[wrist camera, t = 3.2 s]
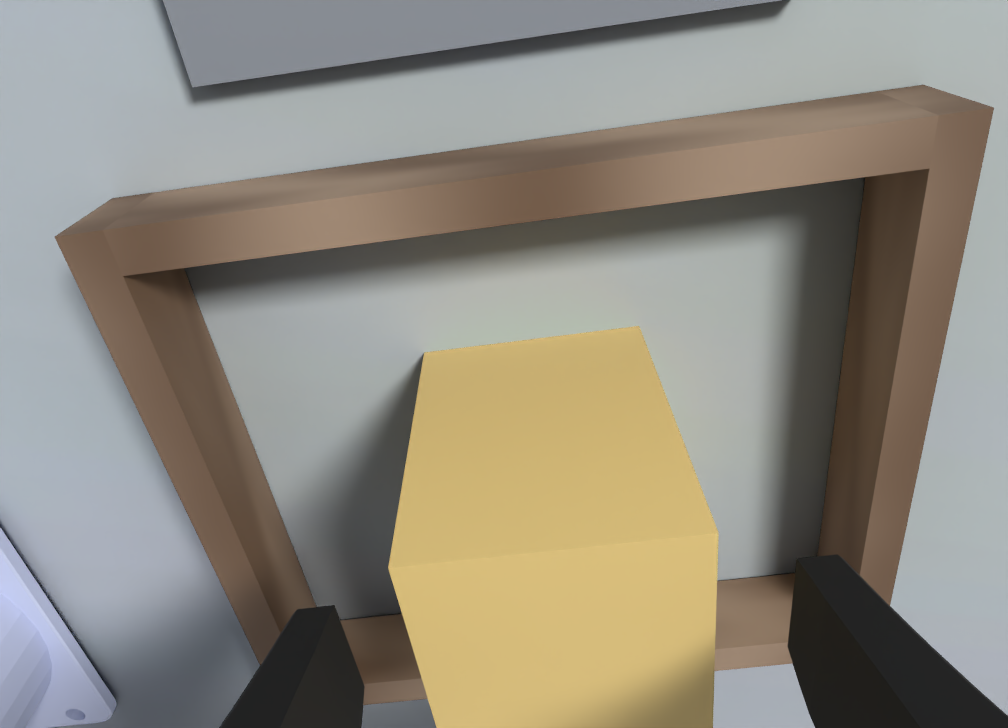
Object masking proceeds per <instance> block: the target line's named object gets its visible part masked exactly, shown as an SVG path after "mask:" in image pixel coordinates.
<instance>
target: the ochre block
mask: <svg viewBox="0 0 1008 728" xmlns="http://www.w3.org/2000/svg"><path fill="white" fill-rule="evenodd" d="M717 565H718V530H717V528H716V525H715V523H714V520H713V517H712V515H711V512H710V510H709V507H708V504H707V502H706V499H705V497H704V494H703V491H702V489H701V486H700V484H699V481H698V478H697V476H696V473H695V470H694V468H693V465H692V463H691V460H690V457H689V455H688V452H687V450H686V447H685V444H684V442H683V439H682V437H681V434H680V431H679V429H678V426H677V424H676V421H675V418H674V416H673V413H672V411H671V408H670V405H669V403H668V400H667V398H666V395H665V392H664V390H663V387H662V385H661V382H660V379H659V377H658V374H657V372H656V369H655V366H654V364H653V361H652V358H651V356H650V353H649V351H648V348H647V345H646V343H645V340H644V338H643V335H642V332H641V330H640V327H639V326H636V327H628V328H619V329H611V330H603V331H595V332H587V333H579V334H571V335H563V336H555V337H547V338H538V339H530V340H522V341H514V342H506V343H498V344H490V345H482V346H474V347H466V348H457V349H449V350H441V351H433V352H425V353H424V357H423V363H422V369H421V375H420V381H419V387H418V393H417V399H416V404H415V410H414V416H413V422H412V428H411V434H410V440H409V446H408V452H407V458H406V464H405V470H404V476H403V482H402V488H401V494H400V500H399V506H398V512H397V518H396V524H395V530H394V536H393V542H392V548H391V554H390V560H389V566H388V569H389V572H390V576H391V579H392V582H393V586H394V589H395V592H396V595H397V599H398V602H399V605H400V609H401V612H402V615H403V618H404V622H405V625H406V628H407V632H408V635H409V638H410V642H411V645H412V648H413V651H414V655H415V658H416V661H417V665H418V668H419V671H420V675H421V678H422V681H423V684H424V688H425V691H426V694H427V698H428V701H429V704H430V707H431V711H432V714H433V717H434V721H435V724H436V727H437V728H713V703H714V668H715V634H716V600H717Z"/></svg>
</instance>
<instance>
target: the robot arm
mask: <svg viewBox="0 0 1008 728" xmlns="http://www.w3.org/2000/svg"><path fill="white" fill-rule="evenodd" d="M787 647H788V650H789V653H790V656H791V659H792V662H793V666H794V669H795V672H796V675H797V678H798V681H799V685H800V687H801V690H802V693H803V696H804V699H805V702H806V705H807V708H808V711H809V714H810V717H811V719H812V721H813V723H814V726H815V728H1008V715H1006V714H1005V713H1004V712H1003V711H1002V710H1000V709H999V708H998V707H997V706H996V705H995V704H994V703H993V702H991V701H990V700H989V699H988V698H987V697H986V696H985V695H984V694H982V693H981V692H980V691H979V690H978V689H977V688H976V687H975V686H974V685H972V684H971V683H970V682H969V681H968V680H967V679H966V678H965V677H964V676H963V675H962V674H961V673H959V672H958V671H957V670H956V669H955V668H954V667H953V666H952V665H951V664H950V663H949V662H948V661H946V660H945V659H944V658H943V657H942V656H941V655H940V654H939V653H938V652H937V651H936V650H935V649H934V648H932V647H931V646H930V645H929V644H928V643H927V642H926V641H925V640H924V639H923V638H922V637H921V636H920V635H919V634H918V633H917V632H916V631H915V630H914V629H913V628H912V627H911V626H910V625H909V624H908V623H907V622H906V621H905V620H904V619H903V618H902V617H901V616H900V615H899V614H898V613H897V612H895V611H894V610H893V609H892V608H891V607H890V606H889V605H888V604H887V603H886V602H885V601H884V600H883V599H882V598H881V596H880V595H879V594H878V593H877V592H876V591H875V590H874V589H873V588H872V587H871V586H870V585H869V584H868V583H867V582H866V581H865V580H864V579H863V578H862V577H861V576H860V575H859V574H858V573H857V572H856V571H855V570H854V569H853V568H852V567H851V566H850V565H849V564H848V563H847V562H846V561H845V560H844V559H843V558H842V557H841V556H839V555H838V554H836V555H826V556H816V557H807V558H797V562H796V571H795V580H794V590H793V599H792V609H791V618H790V627H789V637H788V646H787ZM364 689H365V686H364V683H363V680H362V678H361V675H360V672H359V670H358V667H357V664H356V662H355V659H354V656H353V654H352V651H351V648H350V646H349V643H348V640H347V638H346V635H345V632H344V630H343V627H342V624H341V621H340V619H339V616H338V613H337V611H336V608H335V605H333V606H324V607H314V608H304V609H297V610H296V611H295V612H294V613H293V615H292V616H291V618H290V619H289V621H288V622H287V624H286V626H285V627H284V629H283V630H282V632H281V634H280V635H279V637H278V638H277V640H276V642H275V643H274V645H273V646H272V648H271V650H270V651H269V653H268V654H267V656H266V657H265V659H264V661H263V662H262V664H261V665H260V667H259V668H258V670H257V672H256V673H255V675H254V676H253V678H252V679H251V681H250V682H249V684H248V686H247V687H246V689H245V690H244V692H243V693H242V695H241V696H240V698H239V699H238V701H237V702H236V704H235V705H234V707H233V708H232V710H231V711H230V713H229V714H228V716H227V717H226V718H225V720H224V721H223V723H222V724H221V726H220V727H219V728H361V725H362V714H363V701H364ZM116 705H117V703H116V700H115V698H114V697H113V695H112V694H111V692H110V691H109V689H108V688H107V686H106V685H105V683H104V682H103V680H102V679H101V677H100V676H99V674H98V673H97V671H96V670H95V668H94V667H93V665H92V664H91V662H90V661H89V659H88V658H87V656H86V655H85V653H84V652H83V650H82V649H81V647H80V646H79V644H78V643H77V641H76V640H75V638H74V637H73V635H72V634H71V632H70V631H69V629H68V628H67V626H66V625H65V623H64V622H63V620H62V619H61V617H60V616H59V614H58V613H57V611H56V610H55V608H54V607H53V605H52V604H51V602H50V601H49V600H48V598H47V597H46V595H45V594H44V592H43V591H42V589H41V588H40V586H39V585H38V583H37V582H36V580H35V579H34V577H33V576H32V574H31V573H30V571H29V570H28V568H27V567H26V565H25V564H24V562H23V561H22V559H21V558H20V556H19V555H18V553H17V552H16V550H15V549H14V547H13V546H12V544H11V543H10V541H9V540H8V538H7V537H6V535H5V534H4V532H3V531H2V529H1V528H0V728H49V727H60V726H70V725H80V724H90V723H100V722H104V721H107V720H108V719H110V718H111V716H112V714H113V712H114V710H115V708H116Z"/></svg>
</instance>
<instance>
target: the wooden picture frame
mask: <svg viewBox="0 0 1008 728" xmlns="http://www.w3.org/2000/svg"><path fill="white" fill-rule="evenodd" d="M993 110H994V108H993V107H990V106H987V105H984V104H981V103H978V102H975V101H972V100H969V99H966V98H962V97H959V96H956V95H953V94H950V93H947V92H944V91H941V90H938V89H935V88H932V87H928V86H925V85H919V86H912V87H905V88H898V89H890V90H883V91H876V92H869V93H862V94H855V95H848V96H840V97H833V98H826V99H819V100H812V101H805V102H798V103H790V104H783V105H776V106H769V107H762V108H755V109H748V110H740V111H733V112H726V113H719V114H712V115H705V116H698V117H690V118H683V119H676V120H669V121H662V122H655V123H647V124H640V125H633V126H626V127H619V128H612V129H605V130H597V131H590V132H583V133H576V134H569V135H562V136H555V137H547V138H540V139H533V140H526V141H519V142H512V143H505V144H497V145H490V146H483V147H476V148H469V149H462V150H455V151H447V152H440V153H433V154H426V155H419V156H412V157H405V158H397V159H390V160H383V161H376V162H369V163H362V164H354V165H347V166H340V167H333V168H326V169H319V170H312V171H304V172H297V173H290V174H283V175H276V176H269V177H262V178H254V179H247V180H240V181H233V182H226V183H219V184H212V185H204V186H197V187H190V188H183V189H176V190H169V191H162V192H154V193H147V194H140V195H133V196H126V197H119V198H112V199H111V200H109V201H108V202H106V203H105V204H103V205H102V206H100V207H99V208H97V209H96V210H94V211H93V212H91V213H90V214H88V215H87V216H85V217H84V218H82V219H81V220H79V221H78V222H76V223H75V224H73V225H72V226H70V227H69V228H67V229H66V230H64V231H63V232H61V233H60V234H58V235H57V236H55V239H56V241H57V243H58V245H59V247H60V249H61V251H62V253H63V255H64V258H65V260H66V262H67V264H68V266H69V268H70V270H71V272H72V274H73V276H74V278H75V280H76V283H77V285H78V287H79V289H80V291H81V293H82V295H83V297H84V299H85V301H86V303H87V305H88V308H89V310H90V312H91V314H92V316H93V318H94V320H95V322H96V324H97V326H98V328H99V330H100V333H101V335H102V337H103V339H104V341H105V343H106V345H107V347H108V349H109V351H110V353H111V355H112V358H113V360H114V362H115V364H116V366H117V368H118V370H119V372H120V374H121V376H122V378H123V380H124V383H125V385H126V387H127V389H128V391H129V393H130V395H131V397H132V399H133V401H134V403H135V405H136V408H137V410H138V412H139V414H140V416H141V418H142V420H143V422H144V424H145V426H146V428H147V430H148V433H149V435H150V437H151V439H152V441H153V443H154V445H155V447H156V449H157V451H158V453H159V455H160V458H161V460H162V462H163V464H164V466H165V468H166V470H167V472H168V474H169V476H170V478H171V480H172V483H173V485H174V487H175V489H176V491H177V493H178V495H179V497H180V499H181V501H182V503H183V505H184V508H185V510H186V512H187V514H188V516H189V518H190V520H191V522H192V524H193V526H194V528H195V530H196V533H197V535H198V537H199V539H200V541H201V543H202V545H203V547H204V549H205V551H206V553H207V555H208V557H209V560H210V562H211V564H212V566H213V568H214V570H215V572H216V574H217V576H218V578H219V580H220V582H221V585H222V587H223V589H224V591H225V593H226V595H227V597H228V599H229V601H230V603H231V605H232V607H233V610H234V612H235V614H236V616H237V618H238V620H239V622H240V624H241V626H242V628H243V630H244V632H245V635H246V637H247V639H248V641H249V643H250V645H251V647H252V649H253V651H254V653H255V655H256V657H257V660H258V662H259V664H260V665H261V664H262V662H263V661H264V659H265V657H266V656H267V654H268V653H269V651H270V650H271V648H272V646H273V645H274V643H275V642H276V640H277V638H278V637H279V635H280V634H281V632H282V630H283V629H284V627H285V626H286V624H287V622H288V621H289V619H290V618H291V616H292V615H293V613H294V612H295V611H296V610H297V609H304V608H314V607H316V605H315V602H314V599H313V597H312V594H311V592H310V589H309V587H308V584H307V582H306V579H305V576H304V574H303V571H302V569H301V566H300V564H299V561H298V559H297V556H296V554H295V551H294V548H293V546H292V543H291V541H290V538H289V536H288V533H287V531H286V528H285V525H284V523H283V520H282V518H281V515H280V513H279V510H278V508H277V505H276V502H275V500H274V497H273V495H272V492H271V490H270V487H269V485H268V482H267V480H266V477H265V474H264V472H263V469H262V467H261V464H260V462H259V459H258V457H257V454H256V451H255V449H254V446H253V444H252V441H251V439H250V436H249V434H248V431H247V428H246V426H245V423H244V421H243V418H242V416H241V413H240V411H239V408H238V406H237V403H236V400H235V398H234V395H233V393H232V390H231V388H230V385H229V383H228V380H227V377H226V375H225V372H224V370H223V367H222V365H221V362H220V360H219V357H218V354H217V352H216V349H215V347H214V344H213V342H212V339H211V337H210V334H209V331H208V329H207V326H206V324H205V321H204V319H203V316H202V314H201V311H200V309H199V306H198V303H197V301H196V298H195V296H194V293H193V291H192V288H191V286H190V283H189V280H188V278H187V275H186V273H185V270H184V268H188V267H195V266H203V265H210V264H218V263H225V262H233V261H240V260H248V259H255V258H263V257H270V256H278V255H285V254H293V253H300V252H308V251H315V250H323V249H330V248H338V247H345V246H353V245H360V244H368V243H375V242H382V241H390V240H397V239H405V238H412V237H420V236H427V235H435V234H442V233H450V232H457V231H465V230H472V229H480V228H487V227H495V226H502V225H510V224H517V223H525V222H532V221H540V220H547V219H555V218H562V217H570V216H577V215H585V214H592V213H600V212H607V211H615V210H622V209H630V208H637V207H645V206H652V205H660V204H667V203H675V202H682V201H690V200H697V199H705V198H712V197H720V196H727V195H734V194H742V193H749V192H757V191H764V190H772V189H779V188H787V187H794V186H802V185H809V184H817V183H824V182H832V181H839V180H847V179H854V178H862V177H865V184H864V192H863V200H862V208H861V216H860V224H859V232H858V240H857V248H856V256H855V263H854V271H853V279H852V287H851V295H850V303H849V311H848V319H847V327H846V335H845V343H844V350H843V358H842V366H841V374H840V382H839V390H838V398H837V406H836V414H835V422H834V429H833V437H832V445H831V453H830V461H829V469H828V477H827V485H826V493H825V501H824V508H823V516H822V524H821V532H820V540H819V548H818V556H826V555H836V554H838V555H839V556H841V557H842V558H843V559H844V560H845V561H846V562H847V563H848V564H849V565H850V566H851V567H852V568H853V569H854V570H855V571H856V572H857V573H858V574H859V575H860V576H861V577H862V578H863V579H864V580H865V581H866V582H867V583H868V584H869V585H870V586H871V587H872V588H873V589H874V590H875V591H876V592H877V593H878V594H879V595H880V596H881V598H882V599H883V600H884V601H885V602H886V603H887V604H888V605H889V606H890V603H891V598H892V593H893V588H894V584H895V579H896V574H897V569H898V564H899V560H900V555H901V550H902V545H903V541H904V536H905V531H906V526H907V521H908V517H909V512H910V507H911V502H912V497H913V493H914V488H915V483H916V478H917V473H918V469H919V464H920V459H921V454H922V450H923V445H924V440H925V435H926V430H927V426H928V421H929V416H930V411H931V406H932V402H933V397H934V392H935V387H936V383H937V378H938V373H939V368H940V363H941V359H942V354H943V349H944V344H945V339H946V335H947V330H948V325H949V320H950V316H951V311H952V306H953V301H954V296H955V292H956V287H957V282H958V277H959V272H960V268H961V263H962V258H963V253H964V249H965V244H966V239H967V234H968V229H969V225H970V220H971V215H972V210H973V205H974V201H975V196H976V191H977V186H978V181H979V177H980V172H981V167H982V162H983V158H984V153H985V148H986V143H987V138H988V134H989V129H990V124H991V119H992V114H993ZM794 580H795V573H792V574H783V575H773V576H763V577H754V578H744V579H734V580H725V581H717V600H716V634H715V668H714V671H719V670H729V669H740V668H750V667H760V666H771V665H781V664H791V663H793V662H792V659H791V656H790V653H789V650H788V647H787V646H788V637H789V627H790V618H791V609H792V599H793V590H794ZM340 621H341V624H342V627H343V630H344V632H345V635H346V638H347V640H348V643H349V646H350V648H351V651H352V654H353V656H354V659H355V662H356V664H357V667H358V670H359V672H360V675H361V678H362V680H363V683H364V686H365V689H364V701H363V705H368V704H379V703H389V702H399V701H410V700H420V699H428V698H427V694H426V691H425V688H424V684H423V681H422V678H421V675H420V671H419V668H418V665H417V661H416V658H415V655H414V651H413V648H412V645H411V642H410V638H409V635H408V632H407V628H406V625H405V622H404V618H403V615H402V614H397V615H388V616H378V617H369V618H359V619H349V620H340Z"/></svg>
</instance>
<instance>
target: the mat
mask: <svg viewBox="0 0 1008 728" xmlns="http://www.w3.org/2000/svg"><path fill="white" fill-rule="evenodd" d="M773 1H780V0H163V2H164V5H165V8H166V11H167V14H168V17H169V20H170V23H171V26H172V29H173V32H174V35H175V38H176V41H177V44H178V47H179V50H180V53H181V56H182V58H183V61H184V64H185V67H186V70H187V73H188V76H189V79H190V82H191V85H192V87H199V86H205V85H212V84H219V83H226V82H232V81H239V80H246V79H253V78H259V77H266V76H273V75H280V74H286V73H293V72H300V71H307V70H313V69H320V68H327V67H334V66H341V65H347V64H354V63H361V62H368V61H374V60H381V59H388V58H395V57H401V56H408V55H415V54H422V53H428V52H435V51H442V50H449V49H455V48H462V47H469V46H476V45H482V44H489V43H496V42H503V41H509V40H516V39H523V38H530V37H537V36H543V35H550V34H557V33H564V32H570V31H577V30H584V29H591V28H597V27H604V26H611V25H618V24H624V23H631V22H638V21H645V20H651V19H658V18H665V17H672V16H678V15H685V14H692V13H699V12H706V11H712V10H719V9H726V8H733V7H739V6H746V5H753V4H760V3H766V2H773Z"/></svg>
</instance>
